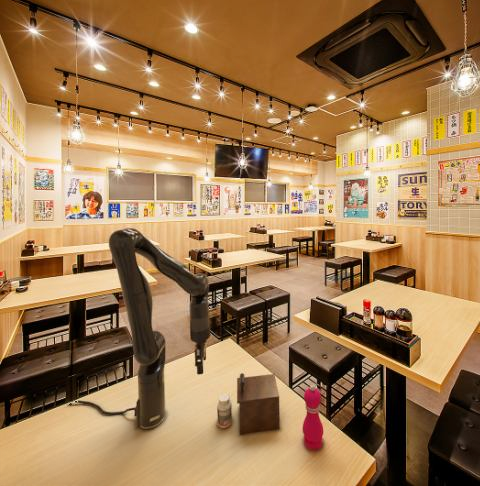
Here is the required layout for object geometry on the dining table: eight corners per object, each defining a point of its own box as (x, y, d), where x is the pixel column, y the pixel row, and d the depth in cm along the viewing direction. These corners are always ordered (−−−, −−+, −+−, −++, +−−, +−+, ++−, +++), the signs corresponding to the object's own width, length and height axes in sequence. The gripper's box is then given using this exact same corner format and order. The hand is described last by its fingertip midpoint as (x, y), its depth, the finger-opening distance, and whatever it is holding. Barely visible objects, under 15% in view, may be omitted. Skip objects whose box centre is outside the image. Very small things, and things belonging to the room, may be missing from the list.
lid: (237, 403, 92) (236, 389, 92) (237, 379, 104) (236, 367, 104) (279, 398, 94) (279, 384, 94) (274, 375, 107) (274, 363, 106)
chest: (239, 434, 92) (239, 403, 92) (239, 407, 105) (239, 379, 105) (279, 429, 95) (279, 398, 94) (274, 403, 107) (274, 375, 107)
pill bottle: (219, 416, 101) (218, 392, 100) (232, 416, 101) (232, 392, 100) (216, 428, 95) (215, 402, 95) (230, 428, 95) (229, 402, 95)
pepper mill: (310, 455, 85) (309, 396, 84) (298, 437, 91) (298, 382, 90) (327, 445, 88) (327, 388, 87) (315, 429, 94) (314, 376, 94)
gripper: (193, 318, 106) (194, 357, 107) (186, 336, 92) (188, 380, 93) (211, 317, 108) (213, 354, 108) (207, 334, 93) (209, 377, 94)
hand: (201, 366), depth 101 cm, fingers open, 8 cm apart
